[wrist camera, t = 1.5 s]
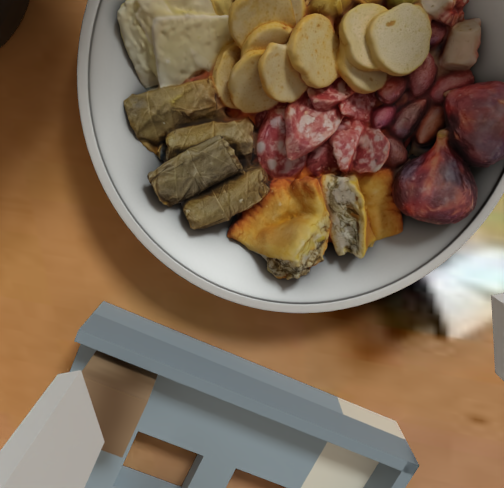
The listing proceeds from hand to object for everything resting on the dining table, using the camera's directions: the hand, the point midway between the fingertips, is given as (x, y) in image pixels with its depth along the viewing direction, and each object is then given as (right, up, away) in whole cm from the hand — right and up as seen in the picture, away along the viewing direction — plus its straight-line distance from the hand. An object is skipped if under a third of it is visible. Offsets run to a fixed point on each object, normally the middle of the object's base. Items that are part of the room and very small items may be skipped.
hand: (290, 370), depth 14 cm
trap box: (-4, -13, +26) cm, 29 cm away
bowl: (+2, +15, +20) cm, 25 cm away
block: (-12, -7, +22) cm, 26 cm away
